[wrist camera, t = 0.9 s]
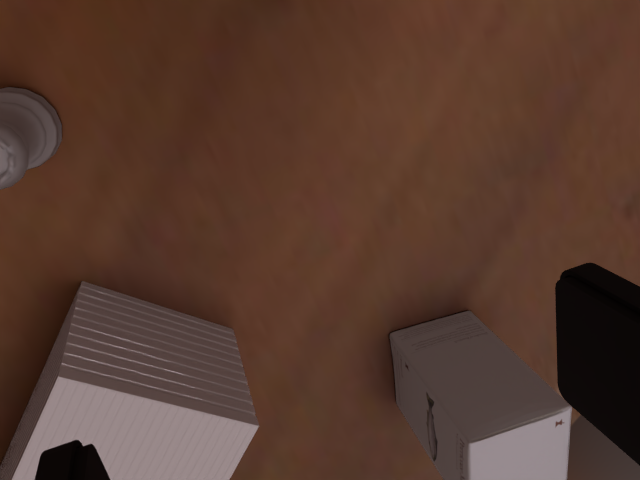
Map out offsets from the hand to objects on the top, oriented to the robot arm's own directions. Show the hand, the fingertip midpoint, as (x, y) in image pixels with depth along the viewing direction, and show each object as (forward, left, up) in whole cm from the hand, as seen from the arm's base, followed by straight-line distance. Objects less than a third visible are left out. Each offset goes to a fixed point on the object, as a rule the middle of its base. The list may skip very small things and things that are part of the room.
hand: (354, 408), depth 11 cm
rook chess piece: (-3, -10, -27) cm, 29 cm away
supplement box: (+21, +14, -27) cm, 37 cm away
